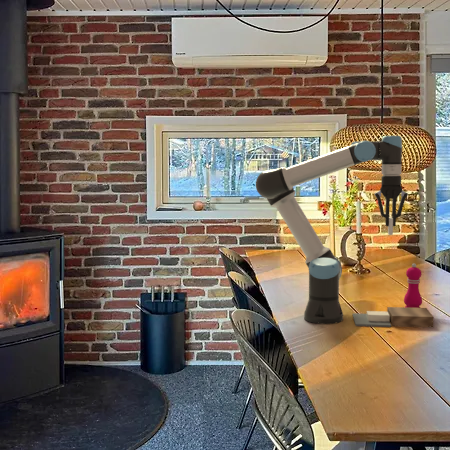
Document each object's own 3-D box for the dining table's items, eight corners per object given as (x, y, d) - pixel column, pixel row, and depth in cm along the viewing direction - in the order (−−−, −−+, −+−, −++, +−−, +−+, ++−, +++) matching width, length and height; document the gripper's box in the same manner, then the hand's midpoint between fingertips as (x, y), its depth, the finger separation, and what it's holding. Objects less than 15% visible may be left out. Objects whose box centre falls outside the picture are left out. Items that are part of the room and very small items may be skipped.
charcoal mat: (355, 326, 226) (355, 323, 226) (352, 315, 241) (352, 313, 241) (391, 326, 224) (391, 324, 224) (385, 316, 239) (385, 314, 239)
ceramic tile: (368, 320, 230) (368, 314, 230) (366, 317, 235) (366, 311, 235) (389, 321, 229) (389, 315, 229) (387, 317, 234) (387, 311, 234)
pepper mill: (424, 313, 242) (425, 265, 240) (406, 313, 242) (407, 265, 240) (418, 309, 249) (420, 261, 247) (401, 309, 250) (402, 261, 247)
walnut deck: (392, 326, 225) (392, 315, 225) (387, 316, 238) (387, 307, 238) (433, 327, 223) (433, 316, 223) (426, 317, 236) (426, 307, 236)
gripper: (375, 175, 233) (374, 235, 236) (410, 175, 231) (408, 235, 234) (373, 175, 240) (372, 233, 243) (406, 174, 239) (405, 233, 242)
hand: (390, 234), depth 239 cm, fingers closed
